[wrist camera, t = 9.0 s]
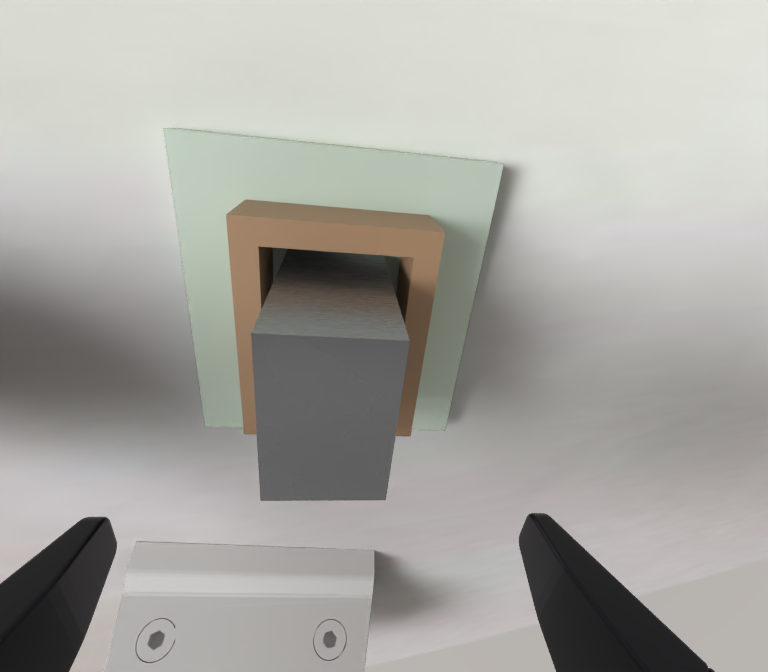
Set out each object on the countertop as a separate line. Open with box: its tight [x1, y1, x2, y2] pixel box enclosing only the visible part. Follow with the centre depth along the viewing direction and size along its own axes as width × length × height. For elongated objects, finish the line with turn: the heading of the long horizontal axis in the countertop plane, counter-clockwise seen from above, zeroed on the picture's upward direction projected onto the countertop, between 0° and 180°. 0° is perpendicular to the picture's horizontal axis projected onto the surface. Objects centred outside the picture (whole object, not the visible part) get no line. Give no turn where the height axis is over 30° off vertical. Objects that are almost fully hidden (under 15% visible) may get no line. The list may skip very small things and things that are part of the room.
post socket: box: [163, 128, 504, 436], centre depth 18 cm, size 13×14×4 cm
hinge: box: [104, 542, 375, 672], centre depth 26 cm, size 17×5×10 cm, turn 79°
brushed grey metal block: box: [251, 249, 410, 501], centre depth 15 cm, size 4×6×8 cm, turn 174°
